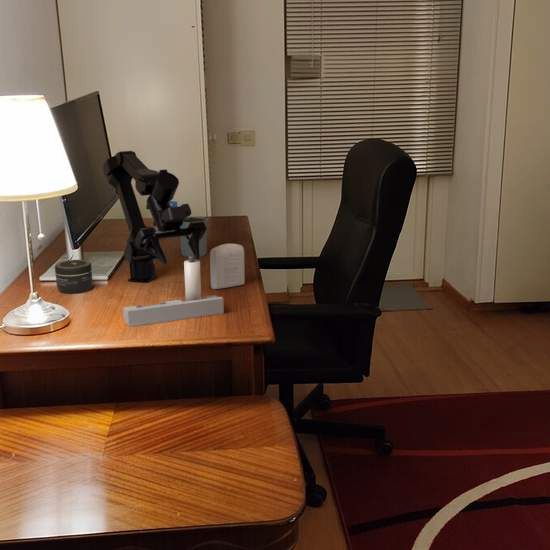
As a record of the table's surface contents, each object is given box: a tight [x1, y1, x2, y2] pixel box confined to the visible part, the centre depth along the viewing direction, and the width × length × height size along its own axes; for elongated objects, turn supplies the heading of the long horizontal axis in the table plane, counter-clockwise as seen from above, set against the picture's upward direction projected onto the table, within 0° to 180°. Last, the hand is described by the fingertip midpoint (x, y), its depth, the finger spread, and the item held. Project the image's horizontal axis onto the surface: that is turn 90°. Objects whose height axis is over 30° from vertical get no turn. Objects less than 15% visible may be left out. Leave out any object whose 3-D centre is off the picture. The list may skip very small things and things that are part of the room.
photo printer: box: [209, 243, 246, 290], centre depth 195 cm, size 10×4×12 cm, turn 123°
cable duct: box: [122, 294, 225, 328], centre depth 172 cm, size 24×6×4 cm, turn 113°
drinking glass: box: [179, 216, 209, 258], centre depth 232 cm, size 10×10×12 cm
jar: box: [54, 259, 93, 295], centre depth 194 cm, size 10×10×8 cm
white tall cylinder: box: [183, 255, 202, 302], centre depth 174 cm, size 4×4×14 cm
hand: (182, 261), depth 178 cm, fingers open, 9 cm apart
